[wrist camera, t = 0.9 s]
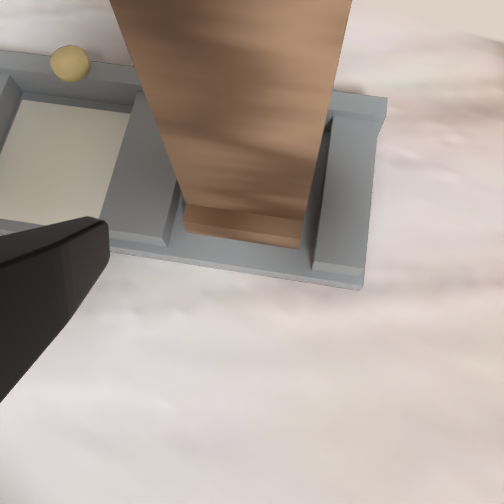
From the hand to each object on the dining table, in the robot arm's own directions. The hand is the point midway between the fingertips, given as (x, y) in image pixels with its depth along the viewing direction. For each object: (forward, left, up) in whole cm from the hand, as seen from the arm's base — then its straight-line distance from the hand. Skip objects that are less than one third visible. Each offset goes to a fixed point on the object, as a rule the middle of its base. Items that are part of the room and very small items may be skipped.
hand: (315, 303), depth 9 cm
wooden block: (+3, +9, -14) cm, 17 cm away
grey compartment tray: (-2, +12, -15) cm, 19 cm away
